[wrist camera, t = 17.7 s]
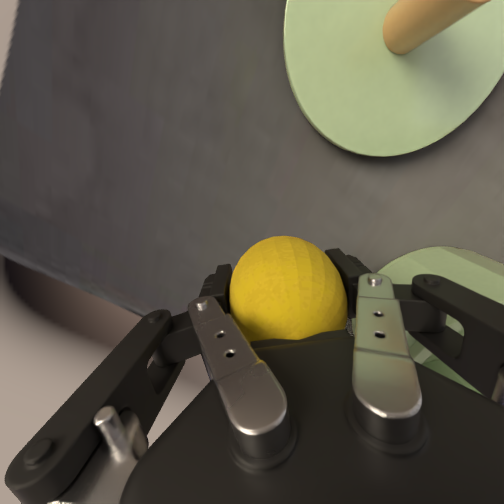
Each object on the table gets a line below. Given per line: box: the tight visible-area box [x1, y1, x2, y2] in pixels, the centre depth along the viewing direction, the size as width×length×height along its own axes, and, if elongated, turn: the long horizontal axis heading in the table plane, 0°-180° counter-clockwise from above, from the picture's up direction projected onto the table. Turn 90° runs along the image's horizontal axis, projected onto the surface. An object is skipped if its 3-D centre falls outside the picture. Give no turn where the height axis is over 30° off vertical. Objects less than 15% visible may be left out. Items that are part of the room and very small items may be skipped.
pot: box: [352, 246, 504, 396], centre depth 20 cm, size 14×19×8 cm
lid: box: [283, 0, 504, 157], centre depth 13 cm, size 15×15×7 cm
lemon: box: [229, 236, 348, 344], centre depth 12 cm, size 6×6×8 cm
